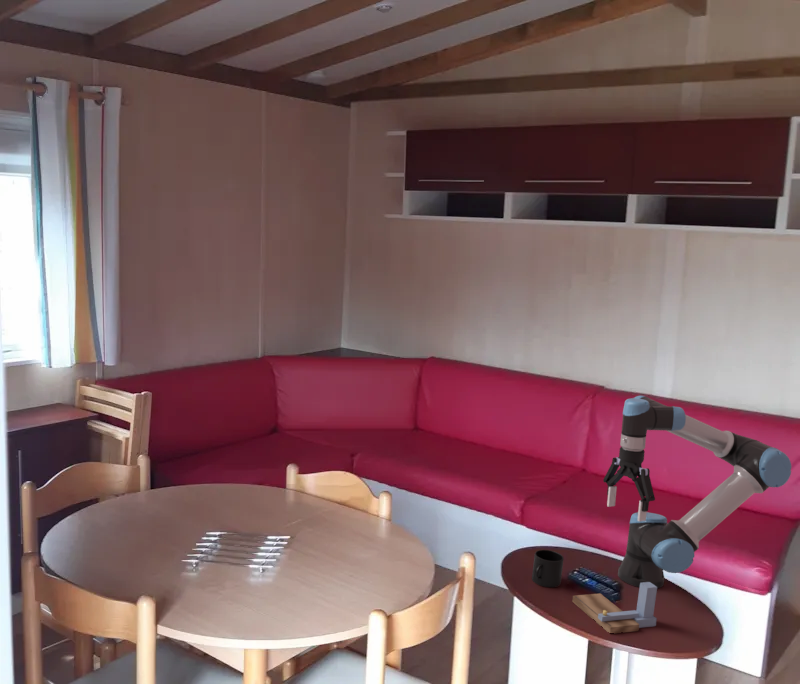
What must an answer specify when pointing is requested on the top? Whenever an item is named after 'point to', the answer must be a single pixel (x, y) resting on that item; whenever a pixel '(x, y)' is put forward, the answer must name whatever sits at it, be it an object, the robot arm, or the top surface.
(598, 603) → the board
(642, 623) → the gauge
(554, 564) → the mug
